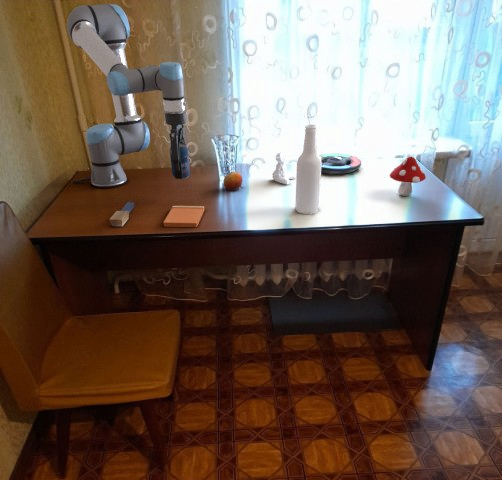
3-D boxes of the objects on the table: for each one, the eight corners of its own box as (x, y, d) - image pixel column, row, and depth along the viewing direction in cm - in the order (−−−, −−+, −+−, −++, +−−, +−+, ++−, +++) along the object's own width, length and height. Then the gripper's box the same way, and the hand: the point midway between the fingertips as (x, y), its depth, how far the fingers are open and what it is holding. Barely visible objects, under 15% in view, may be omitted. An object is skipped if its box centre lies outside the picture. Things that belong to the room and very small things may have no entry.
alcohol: (294, 205, 185) (297, 122, 167) (317, 205, 185) (322, 122, 167) (295, 214, 178) (298, 129, 160) (319, 214, 178) (325, 128, 160)
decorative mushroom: (394, 186, 200) (400, 149, 191) (427, 192, 194) (435, 154, 185) (381, 196, 191) (386, 158, 182) (415, 203, 184) (422, 163, 176)
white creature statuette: (288, 185, 204) (289, 156, 197) (269, 183, 206) (269, 154, 199) (294, 178, 211) (295, 150, 204) (275, 176, 214) (275, 148, 207)
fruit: (244, 189, 197) (234, 172, 194) (229, 198, 200) (218, 181, 197) (248, 182, 203) (238, 166, 200) (233, 191, 207) (223, 175, 203)
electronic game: (300, 167, 224) (300, 156, 221) (335, 157, 235) (336, 147, 232) (335, 179, 209) (336, 168, 206) (371, 168, 220) (372, 158, 217)
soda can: (179, 180, 183) (175, 148, 176) (169, 176, 187) (165, 144, 180) (193, 176, 187) (191, 144, 179) (183, 172, 191) (180, 141, 184)
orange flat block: (163, 226, 172) (163, 221, 171) (173, 209, 184) (173, 204, 183) (196, 227, 171) (196, 222, 169) (204, 210, 183) (204, 205, 182)
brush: (110, 226, 173) (109, 219, 171) (126, 207, 187) (124, 200, 185) (123, 226, 172) (121, 219, 170) (137, 208, 187) (136, 201, 185)
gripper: (179, 118, 165) (185, 184, 178) (190, 105, 180) (195, 167, 194) (157, 118, 165) (165, 183, 179) (171, 105, 181) (177, 166, 195)
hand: (181, 175), depth 187 cm, fingers closed on soda can, 7 cm apart
